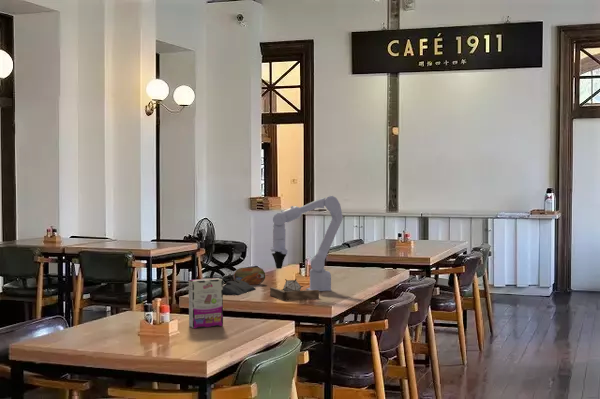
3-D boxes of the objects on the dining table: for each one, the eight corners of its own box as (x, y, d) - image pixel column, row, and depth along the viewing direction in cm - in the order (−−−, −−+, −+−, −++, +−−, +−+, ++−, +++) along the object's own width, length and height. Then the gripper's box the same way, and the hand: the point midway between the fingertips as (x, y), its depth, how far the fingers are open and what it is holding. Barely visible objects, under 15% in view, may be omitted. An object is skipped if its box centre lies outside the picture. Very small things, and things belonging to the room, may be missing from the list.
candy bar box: (218, 323, 274) (218, 277, 273) (223, 326, 269) (223, 279, 269) (187, 326, 269) (188, 279, 268) (192, 328, 264) (193, 280, 264)
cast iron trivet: (207, 294, 345) (207, 283, 344) (228, 288, 365) (228, 278, 365) (238, 296, 339) (238, 285, 339) (258, 290, 360) (258, 279, 360)
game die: (295, 306, 335) (301, 290, 329) (277, 299, 335) (282, 282, 330) (301, 293, 342) (306, 277, 336) (283, 286, 343) (288, 270, 337)
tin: (234, 285, 372) (234, 267, 372) (233, 284, 375) (233, 267, 375) (265, 284, 375) (265, 267, 375) (264, 283, 378) (264, 266, 378)
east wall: (273, 295, 341) (273, 287, 341) (286, 300, 328) (287, 292, 328) (270, 295, 341) (270, 287, 340) (283, 300, 327) (283, 292, 327)
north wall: (317, 297, 335) (317, 289, 335) (318, 298, 334) (318, 290, 334) (282, 299, 328) (282, 291, 328) (283, 300, 327) (283, 292, 327)
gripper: (265, 238, 362) (265, 267, 362) (277, 240, 349) (277, 270, 349) (279, 237, 365) (278, 266, 365) (291, 240, 352) (291, 269, 352)
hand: (278, 268), depth 358 cm, fingers closed
